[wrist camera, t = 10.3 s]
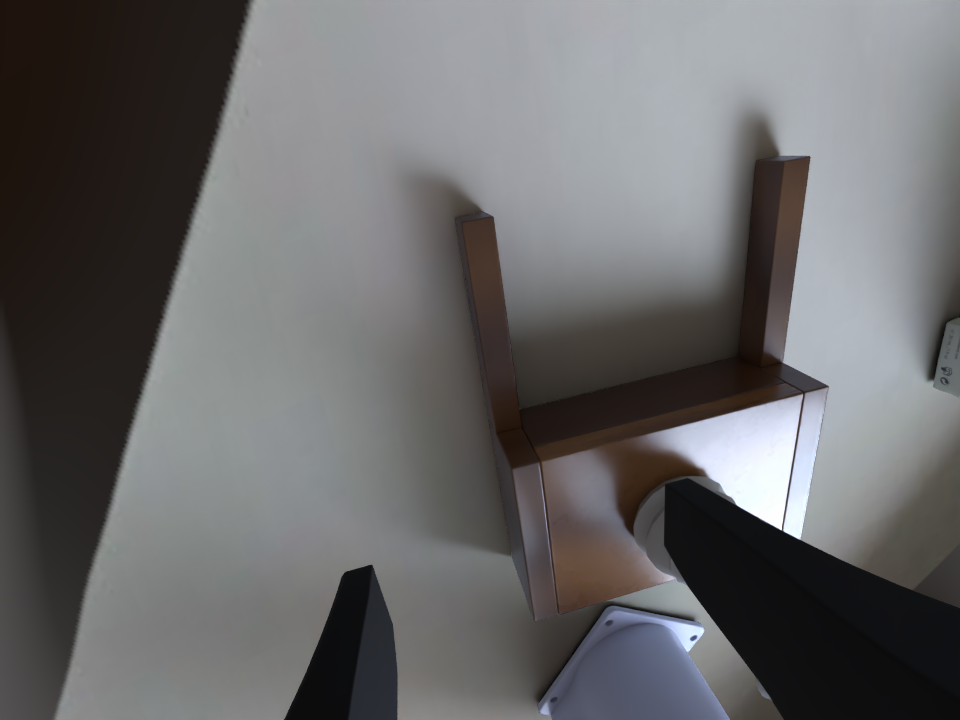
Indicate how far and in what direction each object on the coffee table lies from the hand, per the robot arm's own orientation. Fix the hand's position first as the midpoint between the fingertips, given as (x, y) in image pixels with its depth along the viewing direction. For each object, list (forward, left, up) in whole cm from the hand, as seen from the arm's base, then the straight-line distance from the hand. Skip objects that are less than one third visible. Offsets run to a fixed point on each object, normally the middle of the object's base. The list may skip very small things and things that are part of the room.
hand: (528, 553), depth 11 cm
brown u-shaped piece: (+3, -8, -10) cm, 13 cm away
